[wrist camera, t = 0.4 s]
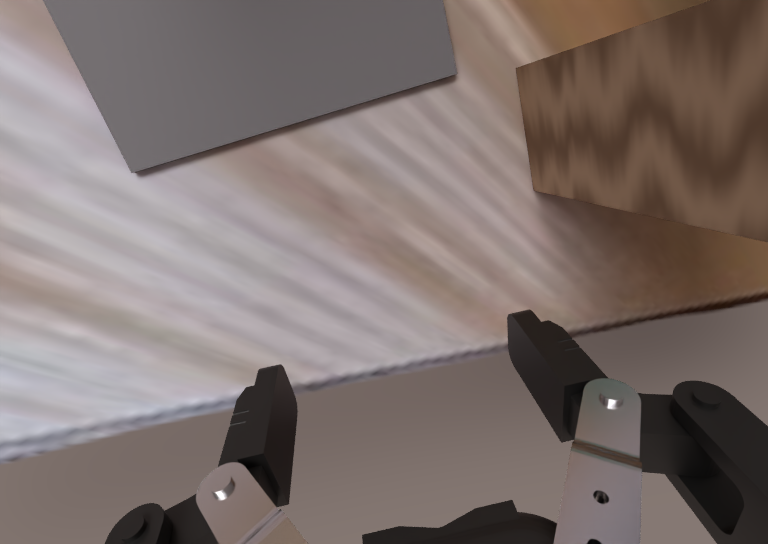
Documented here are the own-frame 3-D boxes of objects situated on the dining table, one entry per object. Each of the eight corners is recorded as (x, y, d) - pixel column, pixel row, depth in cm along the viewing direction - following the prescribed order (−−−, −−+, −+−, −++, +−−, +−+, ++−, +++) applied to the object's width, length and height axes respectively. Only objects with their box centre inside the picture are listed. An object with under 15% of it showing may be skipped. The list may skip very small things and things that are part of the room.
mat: (40, -13, 29) (34, -16, 29) (417, -113, 31) (419, -117, 31) (134, 172, 34) (131, 172, 34) (454, 74, 36) (457, 73, 36)
